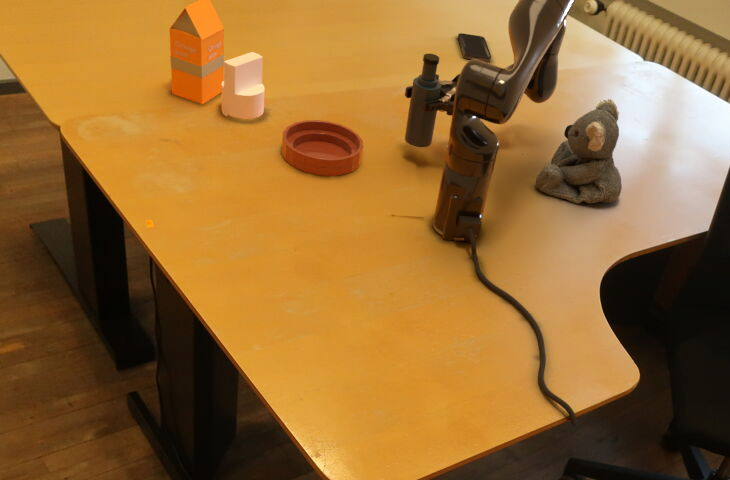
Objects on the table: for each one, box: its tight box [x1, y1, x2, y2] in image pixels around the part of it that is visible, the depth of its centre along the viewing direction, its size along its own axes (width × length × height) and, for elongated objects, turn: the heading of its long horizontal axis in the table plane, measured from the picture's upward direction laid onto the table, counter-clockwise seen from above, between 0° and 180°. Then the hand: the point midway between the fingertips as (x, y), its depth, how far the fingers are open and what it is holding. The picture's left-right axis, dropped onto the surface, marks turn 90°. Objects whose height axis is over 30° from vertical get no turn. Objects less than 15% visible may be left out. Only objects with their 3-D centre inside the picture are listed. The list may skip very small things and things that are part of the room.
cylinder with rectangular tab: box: [221, 51, 266, 120], centre depth 180 cm, size 9×9×12 cm
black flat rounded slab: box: [457, 32, 492, 63], centre depth 235 cm, size 8×1×15 cm
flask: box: [404, 53, 441, 148], centre depth 172 cm, size 6×6×18 cm
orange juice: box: [169, 0, 225, 105], centre depth 180 cm, size 8×9×20 cm
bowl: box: [281, 119, 364, 177], centre depth 173 cm, size 16×16×4 cm
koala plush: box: [535, 98, 623, 204], centre depth 180 cm, size 17×18×20 cm
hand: (415, 99), depth 171 cm, fingers closed on flask, 6 cm apart
